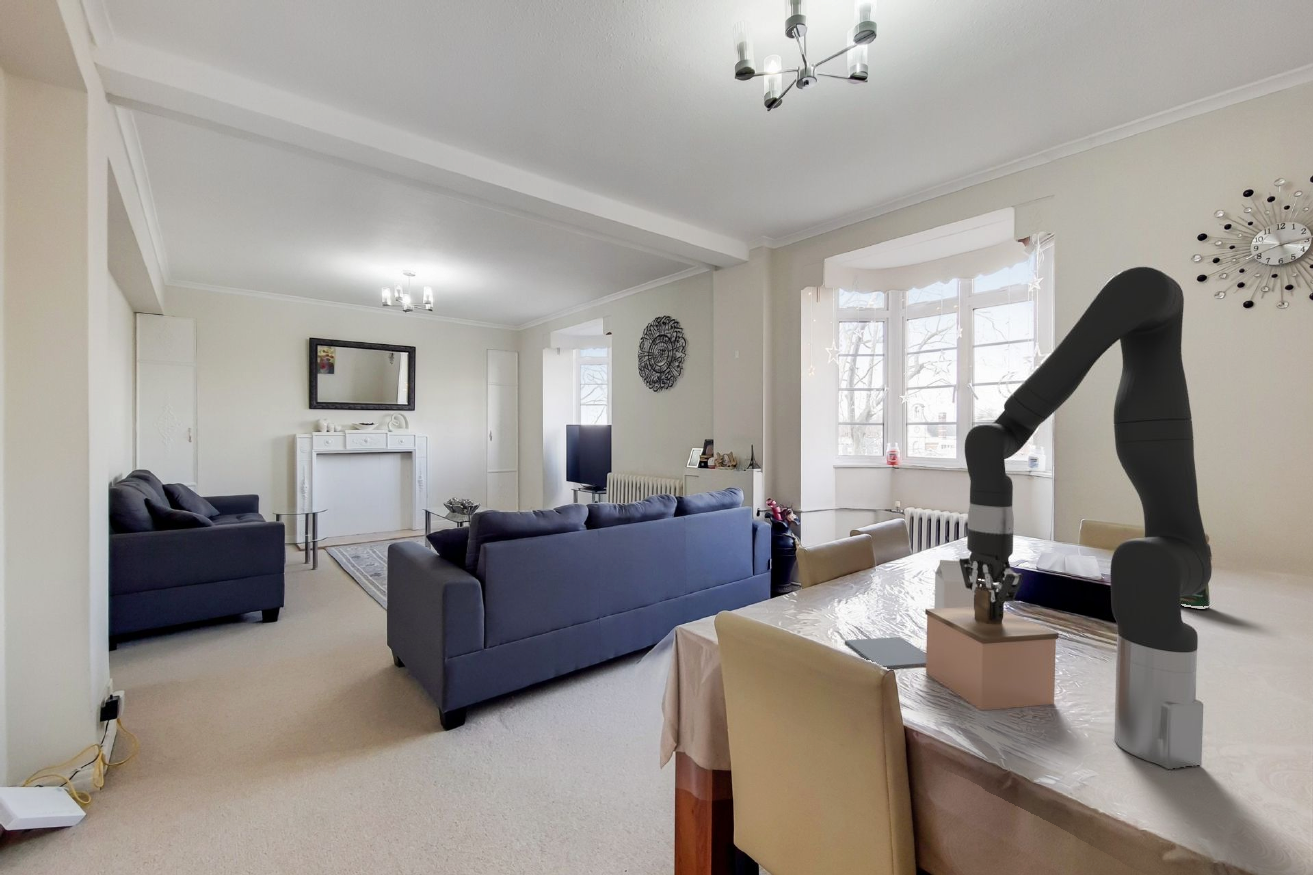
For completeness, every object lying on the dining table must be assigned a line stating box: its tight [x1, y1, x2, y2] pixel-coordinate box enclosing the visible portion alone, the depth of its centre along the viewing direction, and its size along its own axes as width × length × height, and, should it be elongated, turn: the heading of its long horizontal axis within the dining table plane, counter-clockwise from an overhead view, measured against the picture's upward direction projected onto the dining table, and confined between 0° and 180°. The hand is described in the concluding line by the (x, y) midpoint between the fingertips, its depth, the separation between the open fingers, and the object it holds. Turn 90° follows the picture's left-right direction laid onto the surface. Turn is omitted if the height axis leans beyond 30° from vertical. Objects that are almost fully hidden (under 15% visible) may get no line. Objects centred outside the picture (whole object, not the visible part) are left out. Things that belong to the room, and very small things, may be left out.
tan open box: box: [925, 615, 1057, 711], centre depth 107 cm, size 15×15×12 cm
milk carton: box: [933, 559, 974, 609], centre depth 129 cm, size 7×7×19 cm
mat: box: [844, 636, 926, 669], centre depth 122 cm, size 14×14×1 cm
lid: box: [924, 587, 1059, 644], centre depth 106 cm, size 16×16×7 cm
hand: (987, 616), depth 106 cm, fingers closed on lid, 3 cm apart
